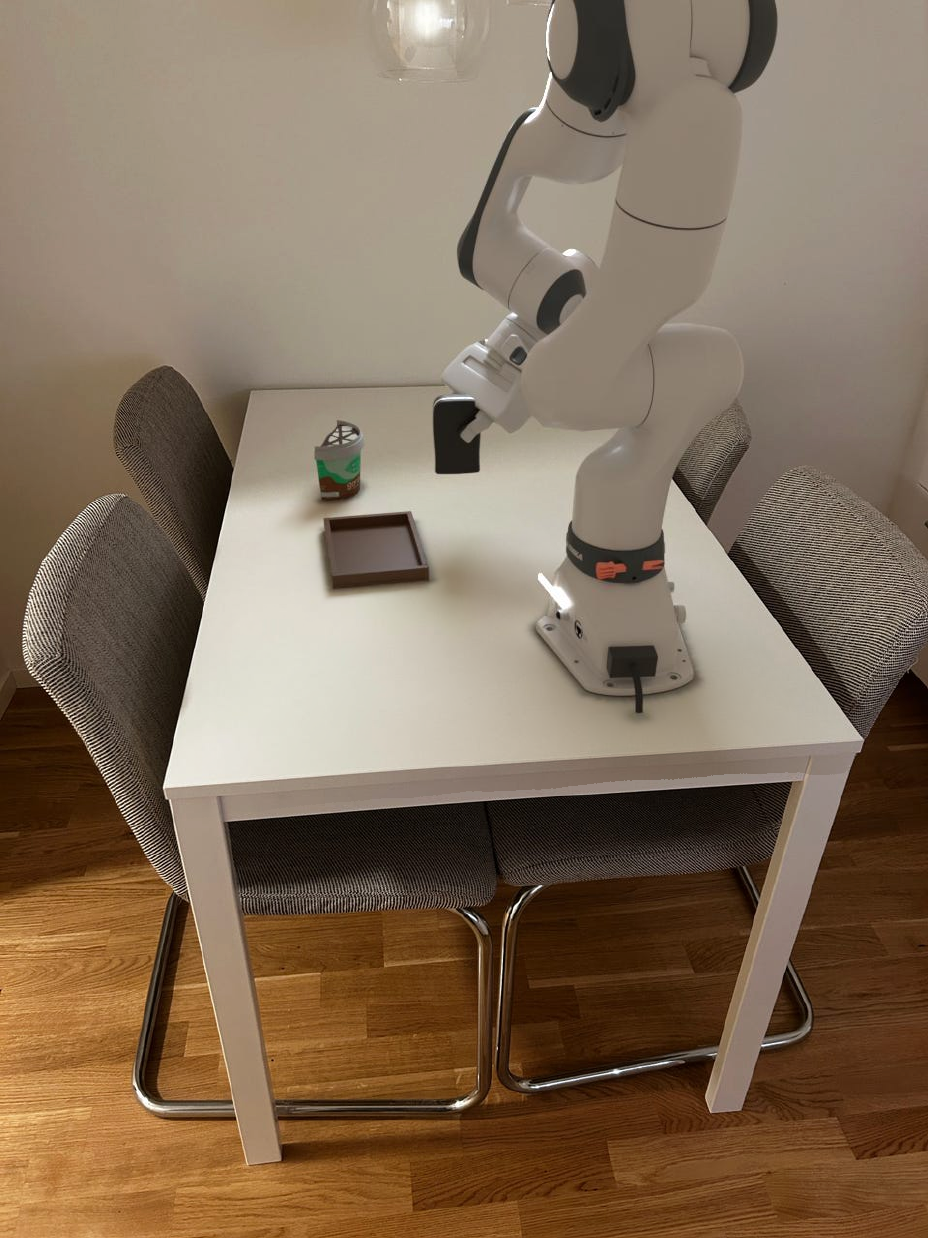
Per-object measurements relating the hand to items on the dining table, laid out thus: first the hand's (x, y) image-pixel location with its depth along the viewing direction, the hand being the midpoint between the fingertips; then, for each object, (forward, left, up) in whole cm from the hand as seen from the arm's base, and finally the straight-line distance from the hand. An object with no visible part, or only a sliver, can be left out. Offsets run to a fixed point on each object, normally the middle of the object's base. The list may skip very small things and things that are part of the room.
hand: (453, 431), depth 136 cm
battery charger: (0, -1, -6) cm, 6 cm away
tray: (-5, +13, -16) cm, 21 cm away
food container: (+17, +15, -17) cm, 28 cm away
